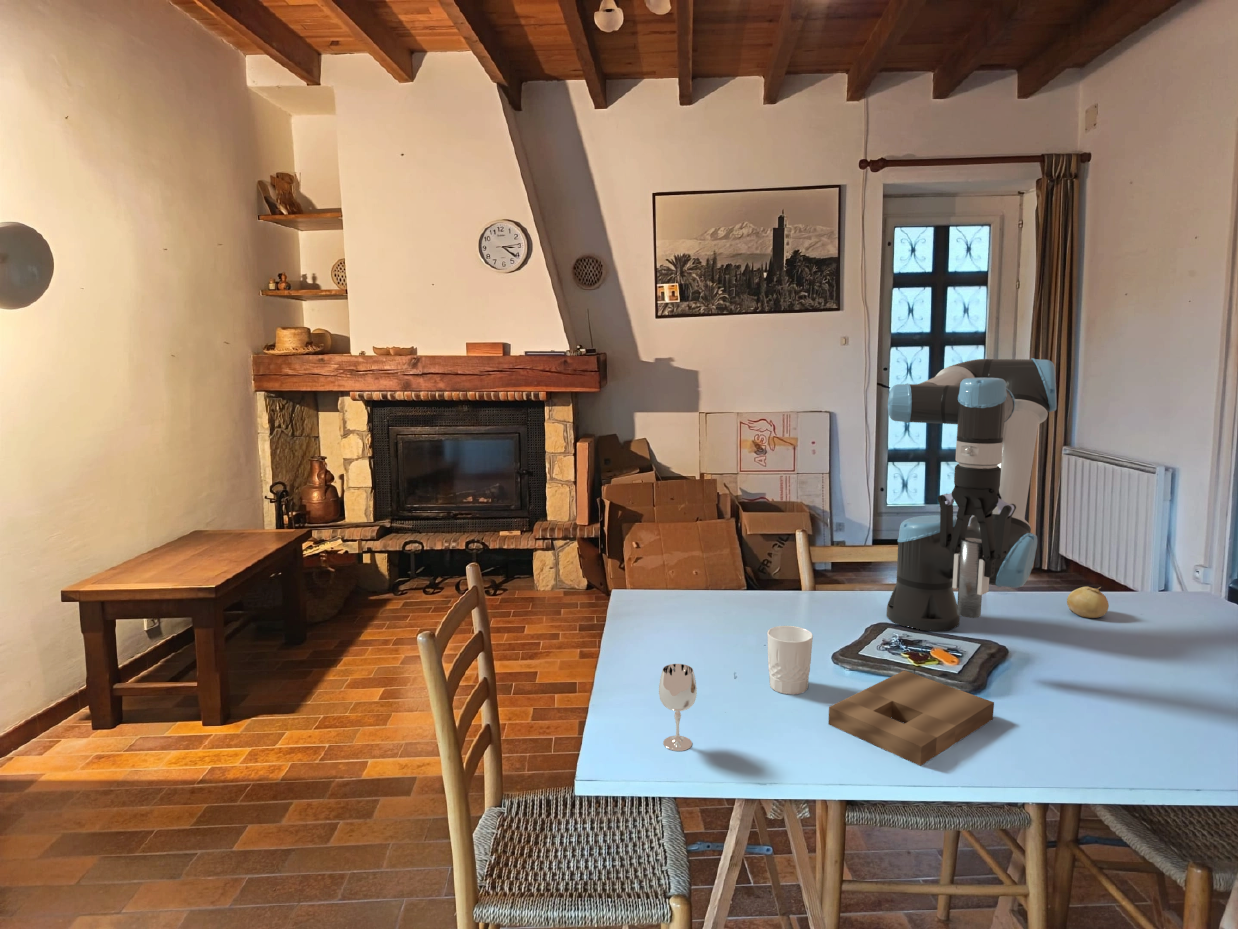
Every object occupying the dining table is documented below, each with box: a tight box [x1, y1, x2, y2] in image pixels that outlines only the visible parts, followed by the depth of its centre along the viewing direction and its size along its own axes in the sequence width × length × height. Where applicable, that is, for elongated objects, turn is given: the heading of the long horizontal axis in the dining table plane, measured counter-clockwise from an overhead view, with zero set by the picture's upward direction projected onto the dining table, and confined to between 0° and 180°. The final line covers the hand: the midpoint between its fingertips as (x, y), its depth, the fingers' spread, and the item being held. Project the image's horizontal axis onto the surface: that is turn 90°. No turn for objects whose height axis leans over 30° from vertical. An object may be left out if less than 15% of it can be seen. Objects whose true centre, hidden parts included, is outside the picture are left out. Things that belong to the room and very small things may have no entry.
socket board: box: [827, 669, 995, 767], centre depth 123 cm, size 16×22×3 cm
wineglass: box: [658, 663, 698, 752], centre depth 116 cm, size 6×6×12 cm
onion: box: [1066, 586, 1109, 619], centre depth 171 cm, size 8×8×7 cm
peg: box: [956, 538, 984, 619], centre depth 139 cm, size 4×4×14 cm
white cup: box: [766, 625, 814, 695], centre depth 136 cm, size 8×8×10 cm
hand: (970, 589), depth 140 cm, fingers closed on peg, 4 cm apart
